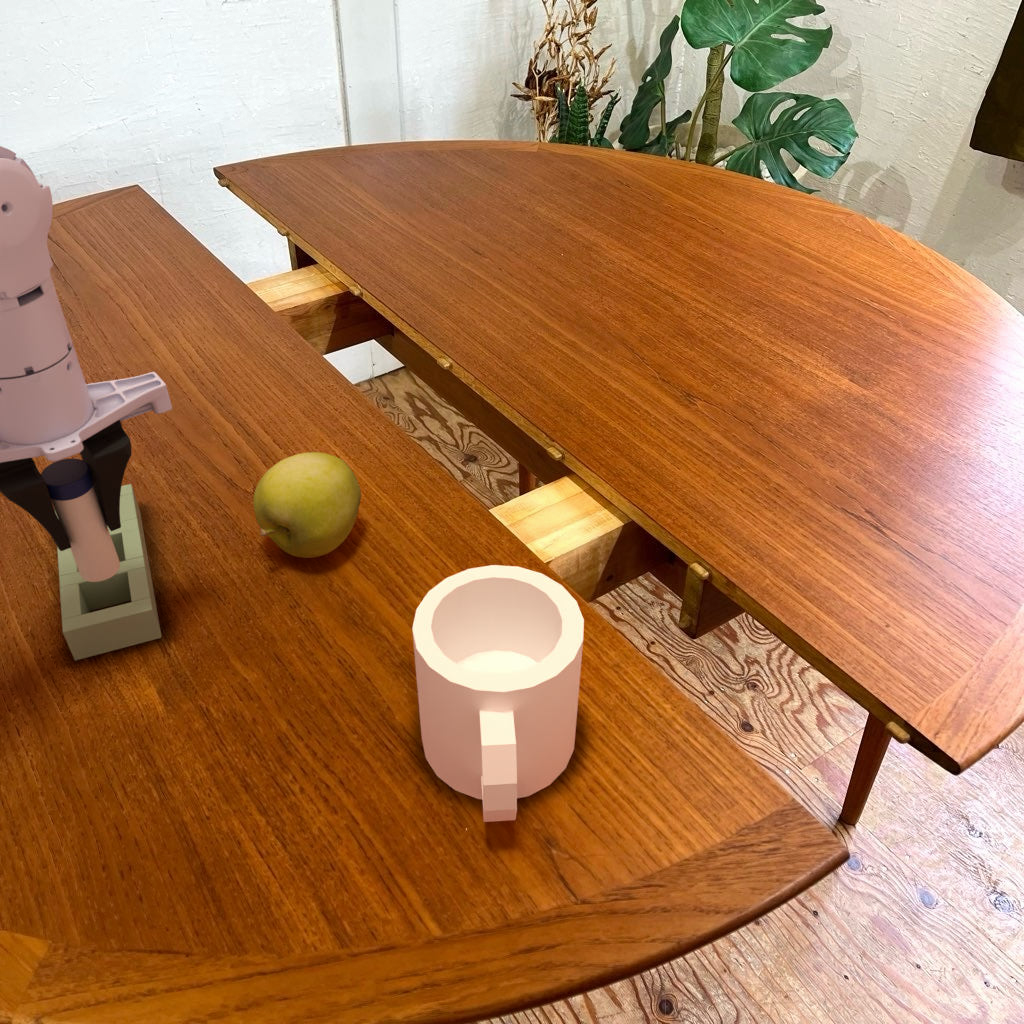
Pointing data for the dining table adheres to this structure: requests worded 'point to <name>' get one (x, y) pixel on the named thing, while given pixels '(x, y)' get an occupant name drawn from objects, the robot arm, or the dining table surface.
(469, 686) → the mug
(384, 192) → the dining table surface
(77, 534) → the test tube
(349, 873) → the dining table surface
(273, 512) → the apple
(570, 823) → the dining table surface
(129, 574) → the tube rack
